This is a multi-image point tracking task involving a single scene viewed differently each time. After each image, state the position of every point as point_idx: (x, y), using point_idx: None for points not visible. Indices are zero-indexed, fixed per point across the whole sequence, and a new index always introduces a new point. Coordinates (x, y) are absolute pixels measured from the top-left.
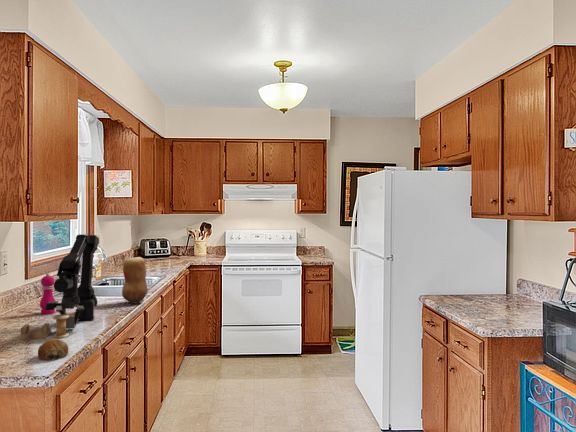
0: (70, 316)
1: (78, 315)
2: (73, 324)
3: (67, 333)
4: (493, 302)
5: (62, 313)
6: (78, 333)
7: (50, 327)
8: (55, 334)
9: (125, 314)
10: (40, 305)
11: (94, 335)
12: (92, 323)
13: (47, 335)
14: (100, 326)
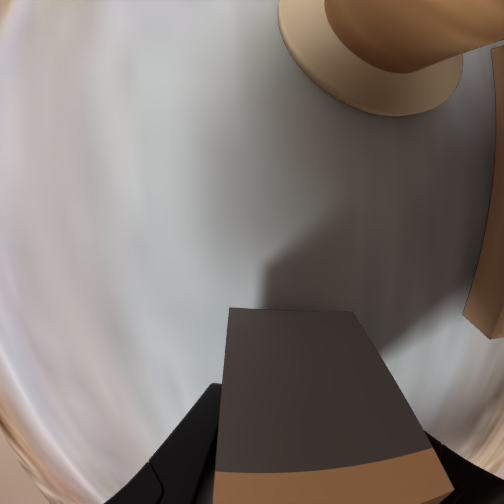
0: (320, 476)
1: (122, 490)
2: (239, 342)
3: (308, 34)
4: None
5: (486, 501)
6: (159, 117)
7: (499, 314)
8: (446, 61)
9: (51, 500)
10: None
11: (19, 20)
12: (125, 469)
13: (499, 131)
14: (27, 373)
